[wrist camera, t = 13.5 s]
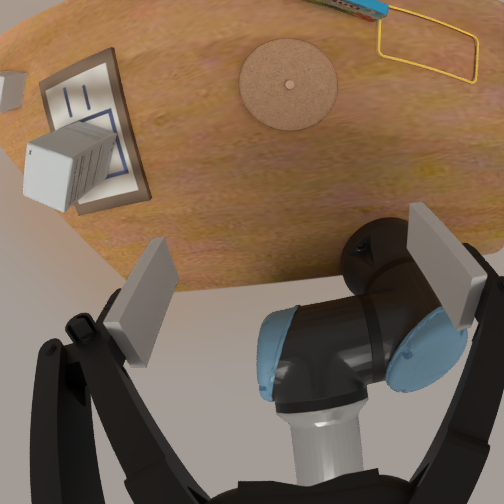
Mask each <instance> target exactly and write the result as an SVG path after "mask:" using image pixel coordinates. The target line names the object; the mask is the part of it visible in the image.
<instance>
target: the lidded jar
mask: <svg viewBox="0 0 504 504" xmlns="http://www.w3.org/2000/svg"><path fill="white" fill-rule="evenodd" d="M239 90H240V95H241V98H242V101H243V103H244V105H245V106H246V108H247V109H248V111H249V112H250V113H251V114H252V115H253V116H254V117H255V118H256V119H257V120H258V121H260V122H261V123H263V124H265V125H267V126H269V127H271V128H274V129H278V130H284V131H295V130H301V129H305V128H308V127H310V126H313V125H315V124H316V123H318V122H319V121H321V120H322V119H323V118H324V117H325V116H326V115H327V114H328V113H329V111H330V110H331V108H332V107H333V105H334V102H335V100H336V96H337V91H338V82H337V76H336V72H335V69H334V67H333V65H332V63H331V62H330V60H329V59H328V57H327V56H326V55H325V54H324V53H323V52H322V51H321V50H319V49H318V48H317V47H315V46H313V45H311V44H310V43H307V42H305V41H302V40H297V39H289V38H283V39H276V40H272V41H269V42H267V43H265V44H262V45H261V46H259V47H258V48H256V49H255V50H254V51H253V52H252V53H251V54H250V55H249V56H248V58H247V59H246V60H245V62H244V64H243V66H242V69H241V72H240V77H239Z"/></svg>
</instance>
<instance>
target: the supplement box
mask: <svg viewBox="0 0 504 504" xmlns="http://www.w3.org/2000/svg"><path fill="white" fill-rule="evenodd" d="M116 136H117V134H116V133H114V132H111V131H108V130H105V129H102V128H99V127H96V126H92V125H89V124H86V123H83V122H79V121H78V122H76V123H73V124H70V125H68V126H65V127H63V128H60V129H58V130H55V131H53V132H51V133H48V134H46V135H44V136H41V137H39V138H37V139H35V140H32V141H30V142H28V143H27V150H26V159H25V170H24V186H23V195H24V196H26V197H29V198H31V199H33V200H36V201H38V202H40V203H43V204H45V205H47V206H50V207H52V208H54V209H56V210H59V211H61V212H63V213H64V212H65V211H67V210H68V209H69V208H70V207H71V206H72V205H73V204H75V203H76V202H77V201H78V200H79V199H80V198H82V197H83V196H84V195H85V194H86V193H88V192H89V191H90V190H91V189H93V188H94V187H95V186H96V185H98V184H99V183H100V182H101V181H103V180H104V179H105V178H106V177H107V173H108V169H109V164H110V160H111V156H112V152H113V148H114V144H115V140H116Z"/></svg>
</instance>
